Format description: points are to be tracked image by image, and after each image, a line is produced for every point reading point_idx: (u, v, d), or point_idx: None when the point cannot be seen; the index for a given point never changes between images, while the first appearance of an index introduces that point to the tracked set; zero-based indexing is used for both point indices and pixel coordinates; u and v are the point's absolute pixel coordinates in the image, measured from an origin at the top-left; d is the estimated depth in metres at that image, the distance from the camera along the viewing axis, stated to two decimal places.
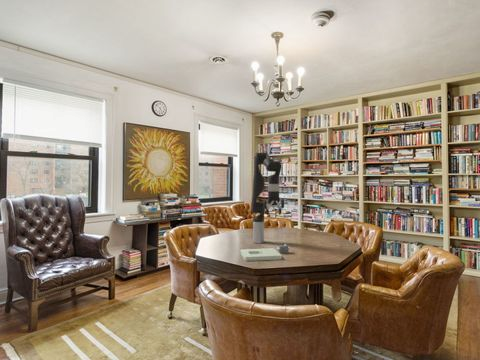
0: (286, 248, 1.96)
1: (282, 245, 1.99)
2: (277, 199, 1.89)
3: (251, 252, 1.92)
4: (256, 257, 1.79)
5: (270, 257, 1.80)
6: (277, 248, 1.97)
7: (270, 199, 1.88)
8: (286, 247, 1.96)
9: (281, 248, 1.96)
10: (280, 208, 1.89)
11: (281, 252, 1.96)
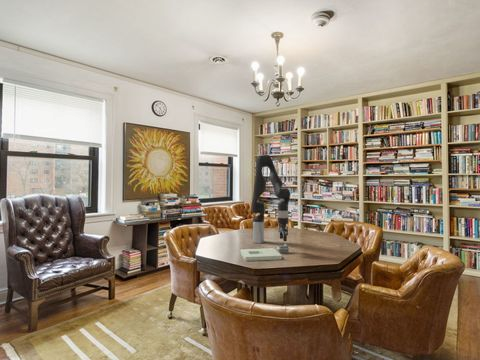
0: (286, 248, 1.96)
1: (282, 245, 1.99)
2: None
3: (251, 252, 1.92)
4: (256, 257, 1.79)
5: (270, 257, 1.80)
6: (277, 248, 1.97)
7: None
8: (286, 247, 1.96)
9: (281, 248, 1.96)
10: None
11: (281, 252, 1.96)
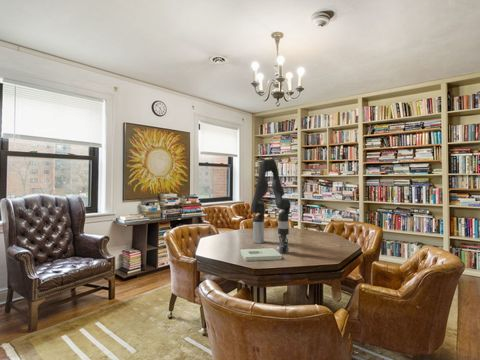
0: (286, 248, 1.96)
1: (282, 245, 1.99)
2: None
3: (251, 252, 1.92)
4: (256, 257, 1.79)
5: (270, 257, 1.80)
6: (277, 248, 1.97)
7: None
8: (286, 247, 1.96)
9: (281, 248, 1.96)
10: None
11: (281, 252, 1.96)
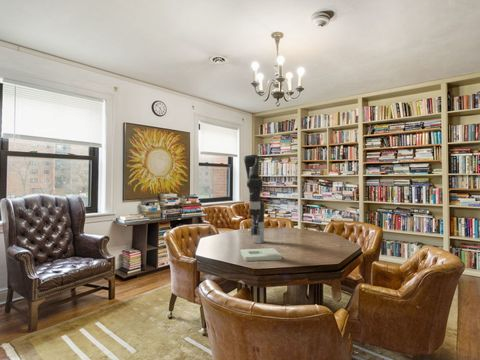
0: (257, 230, 1.87)
1: None
2: None
3: (251, 252, 1.92)
4: (256, 257, 1.79)
5: (270, 257, 1.80)
6: (248, 230, 1.88)
7: (257, 217, 1.86)
8: None
9: (252, 229, 1.87)
10: None
11: (252, 234, 1.86)
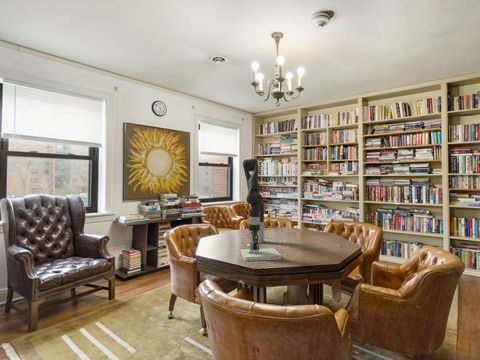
0: (257, 245, 1.87)
1: None
2: None
3: (251, 252, 1.92)
4: (256, 257, 1.79)
5: (270, 257, 1.80)
6: None
7: (256, 232, 1.86)
8: (257, 244, 1.87)
9: (252, 245, 1.86)
10: None
11: (251, 249, 1.86)
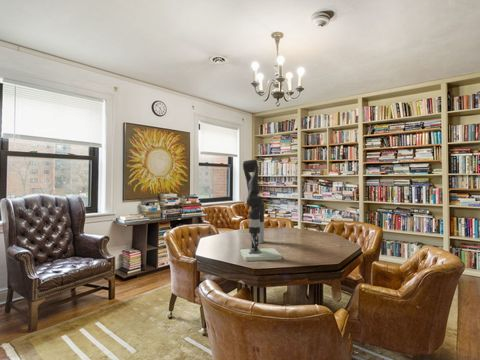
0: (257, 251, 1.87)
1: (253, 248, 1.90)
2: None
3: None
4: (256, 257, 1.79)
5: (270, 257, 1.80)
6: (248, 251, 1.88)
7: (256, 235, 1.86)
8: None
9: (252, 251, 1.86)
10: None
11: None
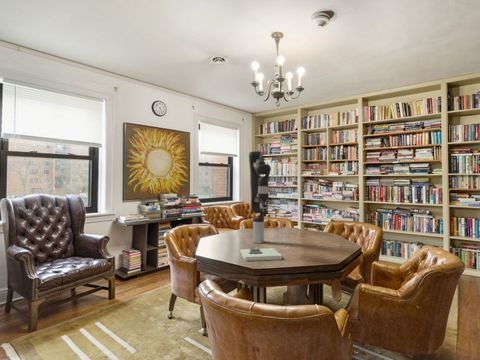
0: (257, 251, 1.87)
1: (253, 248, 1.90)
2: None
3: None
4: (256, 257, 1.79)
5: (270, 257, 1.80)
6: (248, 251, 1.88)
7: (265, 201, 1.95)
8: (257, 250, 1.87)
9: (252, 251, 1.86)
10: None
11: None
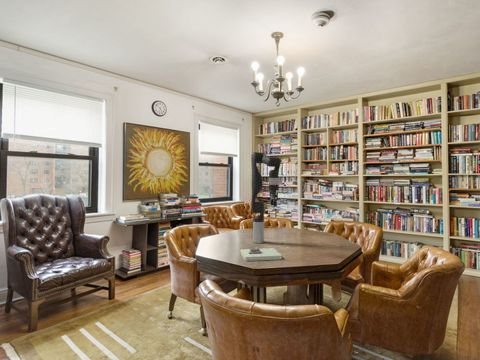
0: (257, 251, 1.87)
1: (253, 248, 1.90)
2: None
3: None
4: (256, 257, 1.79)
5: (270, 257, 1.80)
6: (248, 251, 1.88)
7: None
8: (257, 250, 1.87)
9: (252, 251, 1.86)
10: (273, 199, 2.13)
11: None
